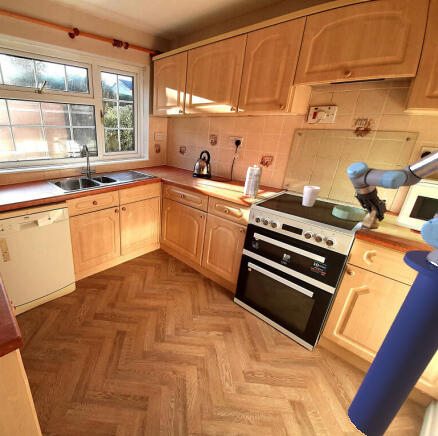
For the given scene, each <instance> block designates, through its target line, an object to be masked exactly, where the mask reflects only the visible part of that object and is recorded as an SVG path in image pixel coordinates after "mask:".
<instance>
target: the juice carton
mask: <svg viewBox="0 0 438 436" xmlns="http://www.w3.org/2000/svg"><path fill="white" fill-rule="evenodd" d="M262 174H263V166H259V165H258V164H254V165H250V166H249V167H248V170H247V172H246V177H245V178H246V179H245V183H244V189H243V196H244V197H245V198H250V199H255V198H256V197H257V196H258V193H259V189H260V185H261V179H262Z"/></svg>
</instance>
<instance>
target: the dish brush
mask: <svg viewBox="0 0 438 436" xmlns="http://www.w3.org/2000/svg"><path fill="white" fill-rule="evenodd" d="M375 213H376V211H375V209H374V208H373V209H372V211H371V214H370V213H369V216H368V219H367V221H362V223H361V226H360V227H361V228H364V229H365V230H368V231H369V230H370V231H371V230H378V229H379V226H380V223H378V222H377V221H378V218H377V216H376V214H375Z"/></svg>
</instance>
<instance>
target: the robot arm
mask: <svg viewBox="0 0 438 436" xmlns="http://www.w3.org/2000/svg"><path fill="white" fill-rule="evenodd" d="M346 173H347V177H348V178H349V180H350V182H351V184H352V186H353V188H354V190H355V193H356V194H355V196H354V198H356V200H357V201H358V203H359V204H360V206H361V207H362V210H366V212H368V213H369V215H370V214H371V211H372V209H373V208H374V209H375V211H376V213H375V214H376V216H377V221H378V222H382V221H383V220H384V219H385V214H386V213H387V211H388V210H387V205H386V202H387V200H386V199H380V197H379V195H378V193H379V192H378V188H384V189H386V190H389V189H390V190H398V189H400V188H401V187H411V186H415V185H417V184H419V183H420V182H421V181H422V180H423V179H425V178H427V177H429V176H432V175H433V174H436V173H438V149H436V150H435V151H433V152H431V153H429V154H427V155H425V156H423V157H422V158H420V159H417V160H416V161H414V162H412V163H411V164H408V165H406V166H405V167H402V168H399V169H383V168H382V169H381V168H374V167H373V168H372V167H369V166H368V164H367V163H366V162H363V161H357V162H355V163H352V164H350V165H349V166H348V167H347V169H346ZM420 236H421V238H422V239H423V241H424V242H425V243H426V244H427V245H428V246H430V247H432V248H434V249H433V250H432V251H431V253H429V254H428V255H427V257H426V261H427V262H428V263H430V264H431V265H433V266H435V267H437V268H438V210H437V211H436V212H435V214H434V216H433V218H431V219H429V220H427V221H426V222H424V224H422V226H421V228H420Z"/></svg>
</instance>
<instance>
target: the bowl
mask: <svg viewBox="0 0 438 436" xmlns="http://www.w3.org/2000/svg"><path fill="white" fill-rule="evenodd" d="M331 214H332V215H333V216H335V217H336V218H339V219H342V220H345V221H349V222H351V221H352V222H360V221H364V219H365V216H366V214H367V211H365V209H363V208H362V209H361V208H358V207H356V206H350V205H342V204H341V205H340V204H339V205H338V204H337V205H334V206H333V209H332V212H331Z"/></svg>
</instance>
